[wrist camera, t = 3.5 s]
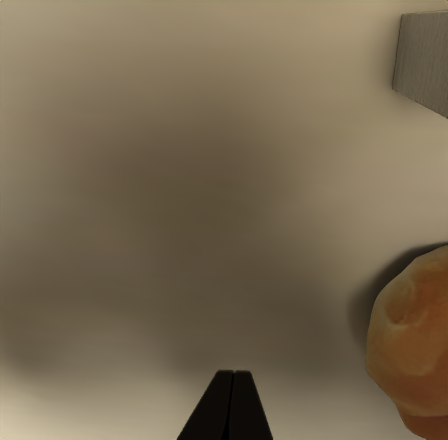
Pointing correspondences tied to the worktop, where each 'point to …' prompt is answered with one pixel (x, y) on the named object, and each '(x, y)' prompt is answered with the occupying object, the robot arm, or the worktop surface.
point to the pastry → (414, 344)
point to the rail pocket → (423, 60)
